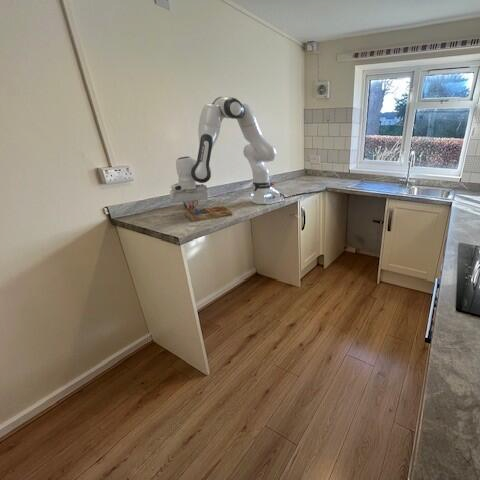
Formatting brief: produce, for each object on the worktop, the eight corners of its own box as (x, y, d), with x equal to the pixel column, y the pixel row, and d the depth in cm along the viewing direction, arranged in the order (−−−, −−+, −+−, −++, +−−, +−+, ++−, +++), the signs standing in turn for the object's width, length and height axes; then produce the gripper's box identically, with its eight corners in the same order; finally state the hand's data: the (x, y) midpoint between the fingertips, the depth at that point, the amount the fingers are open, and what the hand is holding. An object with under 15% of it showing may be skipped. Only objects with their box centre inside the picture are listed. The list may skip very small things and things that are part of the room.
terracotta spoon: (186, 209, 161) (186, 205, 160) (192, 208, 163) (192, 204, 162) (191, 213, 153) (190, 208, 152) (197, 212, 156) (196, 207, 154)
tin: (188, 209, 162) (186, 195, 159) (183, 208, 162) (181, 195, 159) (199, 203, 176) (197, 191, 173) (194, 203, 176) (192, 190, 173)
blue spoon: (193, 213, 151) (193, 208, 150) (200, 212, 153) (199, 207, 152) (198, 217, 143) (197, 212, 142) (205, 216, 146) (204, 211, 144)
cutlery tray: (223, 209, 163) (223, 205, 162) (232, 215, 153) (231, 210, 152) (185, 215, 150) (185, 210, 149) (192, 221, 140) (191, 216, 139)
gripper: (204, 183, 161) (207, 204, 166) (167, 186, 149) (172, 209, 154) (207, 184, 156) (210, 206, 161) (169, 187, 144) (174, 211, 149)
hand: (191, 208), depth 157 cm, fingers closed on terracotta spoon
